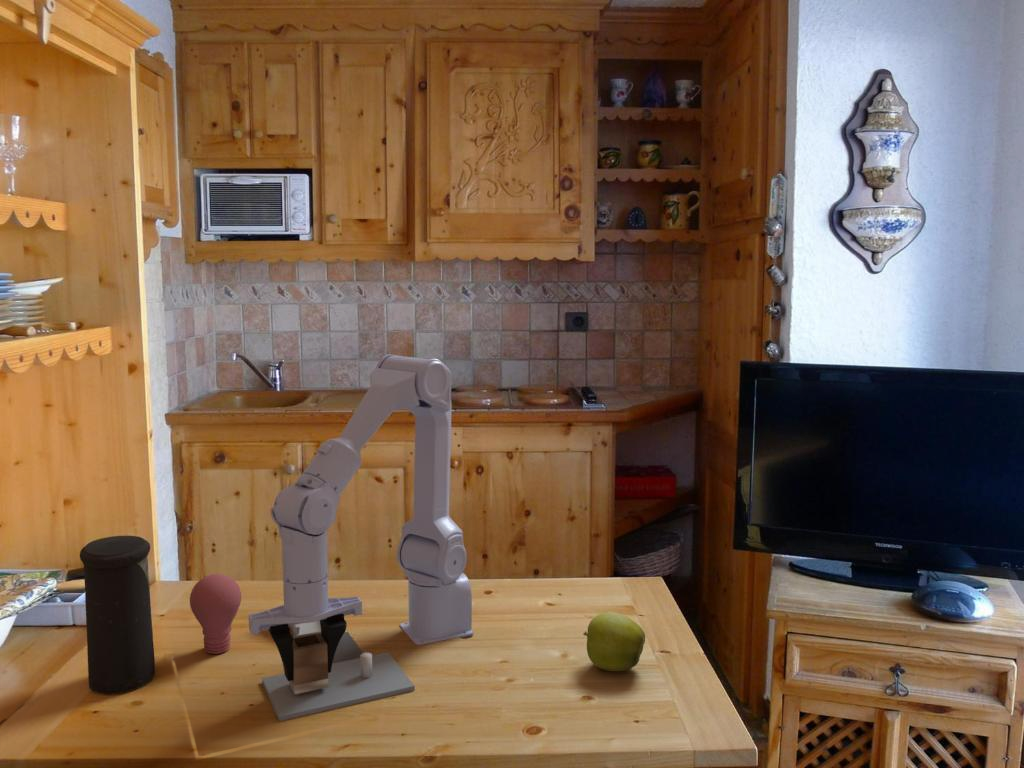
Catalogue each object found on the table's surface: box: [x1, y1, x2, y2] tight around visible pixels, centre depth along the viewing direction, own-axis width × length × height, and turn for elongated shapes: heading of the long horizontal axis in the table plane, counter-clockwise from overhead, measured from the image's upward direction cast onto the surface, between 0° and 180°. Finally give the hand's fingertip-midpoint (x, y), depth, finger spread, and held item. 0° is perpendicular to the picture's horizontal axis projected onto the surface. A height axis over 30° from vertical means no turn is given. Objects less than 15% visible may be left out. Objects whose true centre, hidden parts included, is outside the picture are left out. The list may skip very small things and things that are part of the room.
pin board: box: [261, 652, 416, 722], centre depth 117 cm, size 18×11×4 cm, turn 117°
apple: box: [582, 611, 646, 672], centre depth 124 cm, size 8×9×8 cm
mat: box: [332, 631, 364, 664], centre depth 128 cm, size 10×10×1 cm
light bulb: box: [189, 573, 242, 655], centre depth 127 cm, size 7×7×12 cm
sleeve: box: [288, 632, 328, 694], centre depth 115 cm, size 4×4×6 cm
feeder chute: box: [290, 620, 321, 636], centre depth 135 cm, size 6×8×6 cm
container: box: [79, 535, 156, 695], centre depth 118 cm, size 9×9×20 cm
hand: (308, 673), depth 115 cm, fingers closed on sleeve, 4 cm apart
